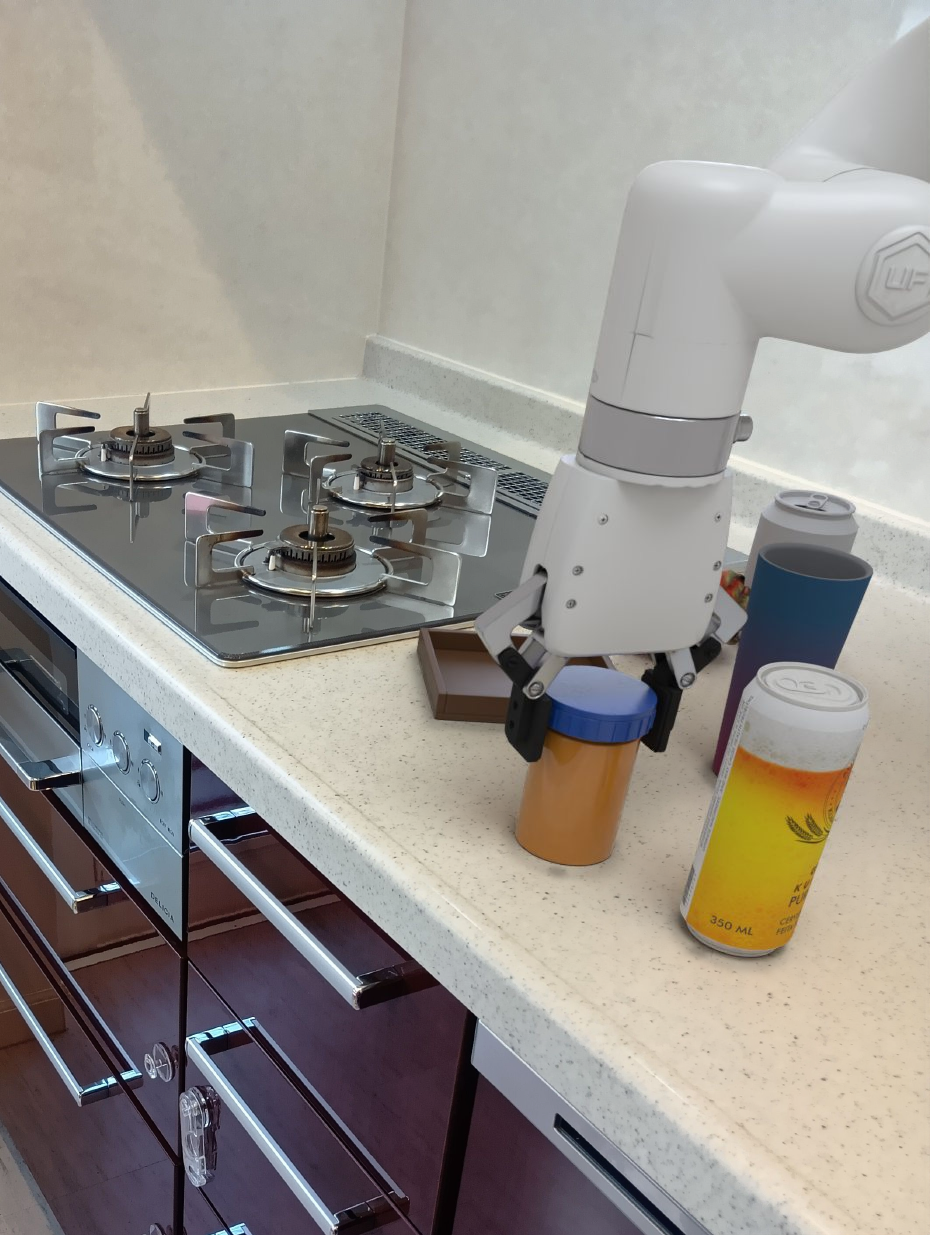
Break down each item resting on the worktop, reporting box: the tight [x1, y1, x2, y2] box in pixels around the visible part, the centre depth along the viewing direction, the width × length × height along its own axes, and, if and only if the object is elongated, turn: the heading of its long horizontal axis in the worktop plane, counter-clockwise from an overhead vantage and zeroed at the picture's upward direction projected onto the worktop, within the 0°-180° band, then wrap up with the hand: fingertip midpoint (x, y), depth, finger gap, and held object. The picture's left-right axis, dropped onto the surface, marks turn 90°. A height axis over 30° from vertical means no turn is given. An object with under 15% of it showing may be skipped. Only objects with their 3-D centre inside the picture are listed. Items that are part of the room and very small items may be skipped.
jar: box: [514, 726, 642, 866], centre depth 77 cm, size 6×6×9 cm
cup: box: [711, 542, 874, 776], centre depth 85 cm, size 7×7×15 cm
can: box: [737, 488, 860, 639], centre depth 107 cm, size 8×8×12 cm
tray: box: [416, 627, 618, 724], centre depth 98 cm, size 14×12×2 cm
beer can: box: [679, 662, 871, 958], centre depth 69 cm, size 6×6×15 cm
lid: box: [545, 666, 657, 742], centre depth 75 cm, size 7×7×2 cm
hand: (585, 745), depth 76 cm, fingers open, 7 cm apart
